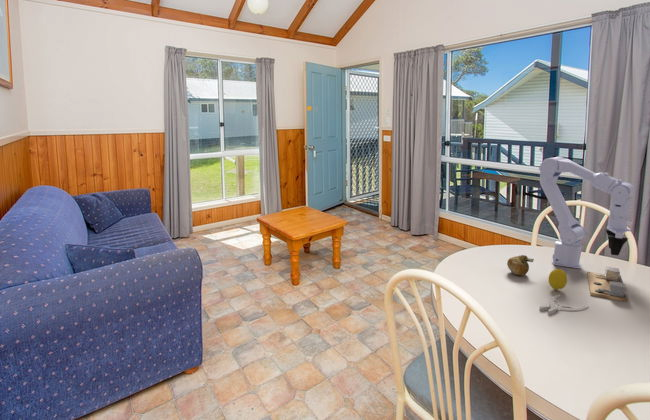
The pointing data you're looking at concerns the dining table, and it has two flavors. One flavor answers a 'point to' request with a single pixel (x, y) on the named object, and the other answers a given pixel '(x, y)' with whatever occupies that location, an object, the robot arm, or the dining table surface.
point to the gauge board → (602, 286)
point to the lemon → (557, 279)
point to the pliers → (553, 308)
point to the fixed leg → (615, 289)
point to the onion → (519, 264)
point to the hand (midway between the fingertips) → (613, 251)
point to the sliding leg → (611, 274)
